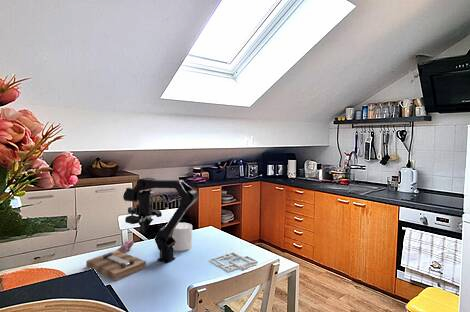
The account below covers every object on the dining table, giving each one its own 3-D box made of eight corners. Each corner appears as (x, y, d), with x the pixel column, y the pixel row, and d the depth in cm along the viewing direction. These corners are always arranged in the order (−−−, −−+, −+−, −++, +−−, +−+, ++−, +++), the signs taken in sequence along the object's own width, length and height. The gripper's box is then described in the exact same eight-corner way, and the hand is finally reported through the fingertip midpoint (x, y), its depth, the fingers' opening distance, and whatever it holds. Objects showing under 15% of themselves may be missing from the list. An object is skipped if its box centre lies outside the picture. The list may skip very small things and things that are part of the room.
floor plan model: (270, 262, 151) (271, 259, 151) (231, 276, 136) (231, 271, 135) (246, 251, 166) (246, 247, 166) (208, 261, 150) (208, 258, 150)
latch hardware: (134, 264, 137) (134, 260, 137) (123, 268, 132) (123, 264, 132) (112, 255, 146) (112, 251, 146) (101, 259, 141) (101, 255, 141)
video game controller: (121, 258, 153) (127, 247, 152) (114, 253, 154) (119, 242, 153) (131, 251, 163) (137, 240, 162) (124, 246, 164) (130, 235, 163)
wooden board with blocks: (146, 267, 140) (146, 261, 140) (116, 280, 127) (116, 274, 127) (116, 255, 152) (116, 250, 152) (86, 267, 139) (86, 260, 139)
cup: (166, 247, 165) (166, 226, 165) (180, 241, 175) (180, 221, 174) (182, 252, 159) (182, 230, 158) (196, 246, 169) (196, 225, 168)
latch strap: (130, 264, 136) (130, 262, 136) (125, 266, 134) (125, 264, 133) (112, 256, 143) (112, 254, 143) (106, 258, 141) (106, 256, 141)
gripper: (148, 197, 163) (147, 225, 164) (118, 203, 148) (118, 234, 149) (162, 200, 157) (162, 229, 158) (133, 207, 141) (132, 239, 143)
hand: (144, 233), depth 152 cm, fingers closed
